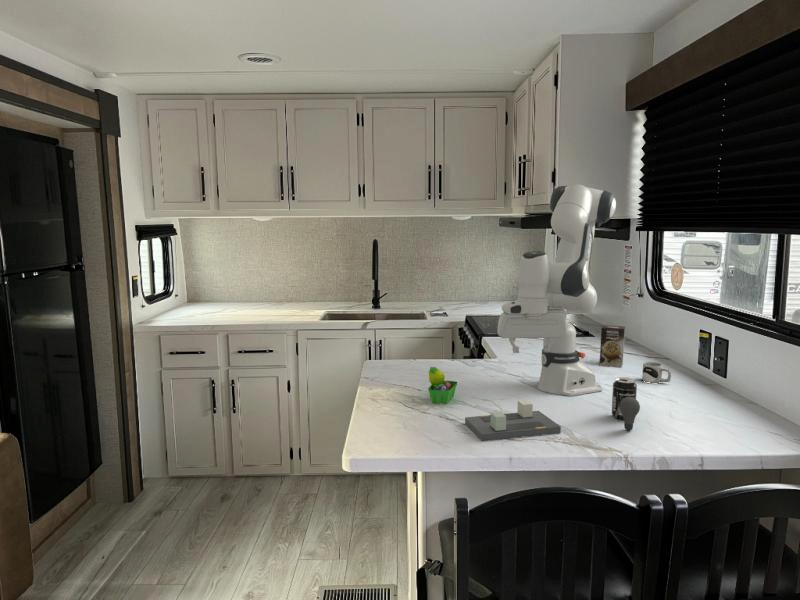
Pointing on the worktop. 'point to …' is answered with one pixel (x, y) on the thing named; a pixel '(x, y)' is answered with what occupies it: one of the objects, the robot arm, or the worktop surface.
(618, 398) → the beverage can
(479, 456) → the worktop surface
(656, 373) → the mug
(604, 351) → the coffee box
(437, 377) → the fruit basket
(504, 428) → the sage tab
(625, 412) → the light bulb
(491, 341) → the worktop surface
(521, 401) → the cream tab
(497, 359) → the worktop surface
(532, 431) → the switch panel
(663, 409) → the worktop surface
